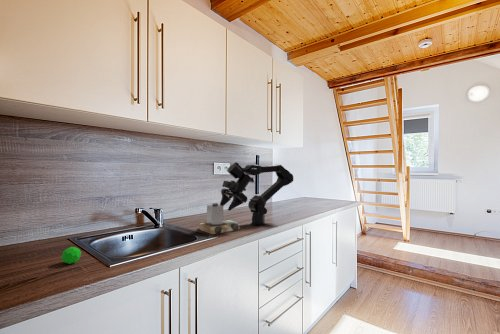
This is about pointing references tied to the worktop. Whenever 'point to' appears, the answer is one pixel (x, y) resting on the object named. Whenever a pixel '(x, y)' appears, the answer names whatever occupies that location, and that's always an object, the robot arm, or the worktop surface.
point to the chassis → (220, 227)
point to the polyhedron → (71, 255)
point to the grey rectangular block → (214, 215)
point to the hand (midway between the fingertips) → (224, 208)
